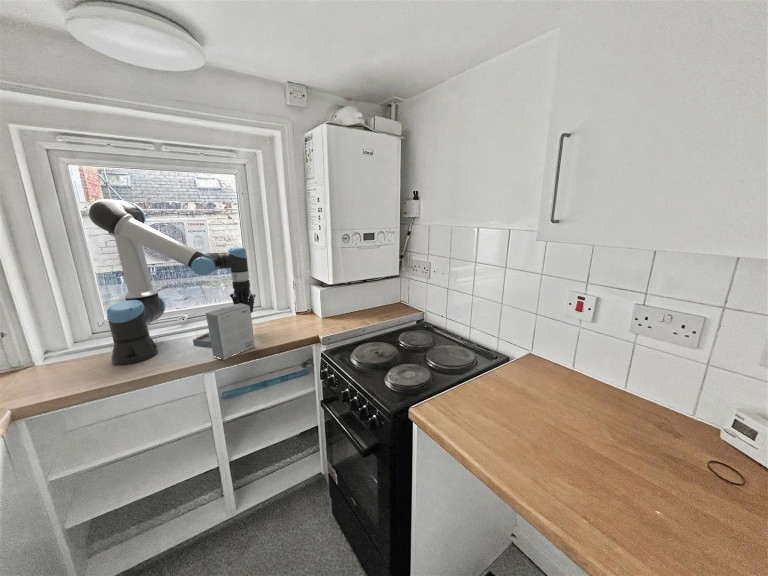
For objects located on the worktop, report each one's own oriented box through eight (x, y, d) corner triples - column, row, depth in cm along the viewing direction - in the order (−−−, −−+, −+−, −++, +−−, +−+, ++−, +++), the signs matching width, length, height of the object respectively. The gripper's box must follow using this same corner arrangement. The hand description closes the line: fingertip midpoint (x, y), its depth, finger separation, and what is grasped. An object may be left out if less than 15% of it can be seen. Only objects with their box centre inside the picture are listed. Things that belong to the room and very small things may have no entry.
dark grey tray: (193, 345, 137) (192, 339, 137) (225, 329, 156) (224, 324, 156) (217, 347, 134) (216, 341, 134) (247, 331, 153) (246, 326, 153)
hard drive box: (245, 343, 139) (240, 302, 134) (255, 347, 135) (250, 305, 130) (212, 357, 126) (205, 312, 121) (222, 361, 122) (216, 315, 117)
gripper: (223, 281, 140) (229, 328, 146) (247, 282, 137) (252, 330, 143) (234, 278, 147) (240, 323, 153) (257, 279, 144) (262, 325, 150)
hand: (246, 326), depth 148 cm, fingers closed
